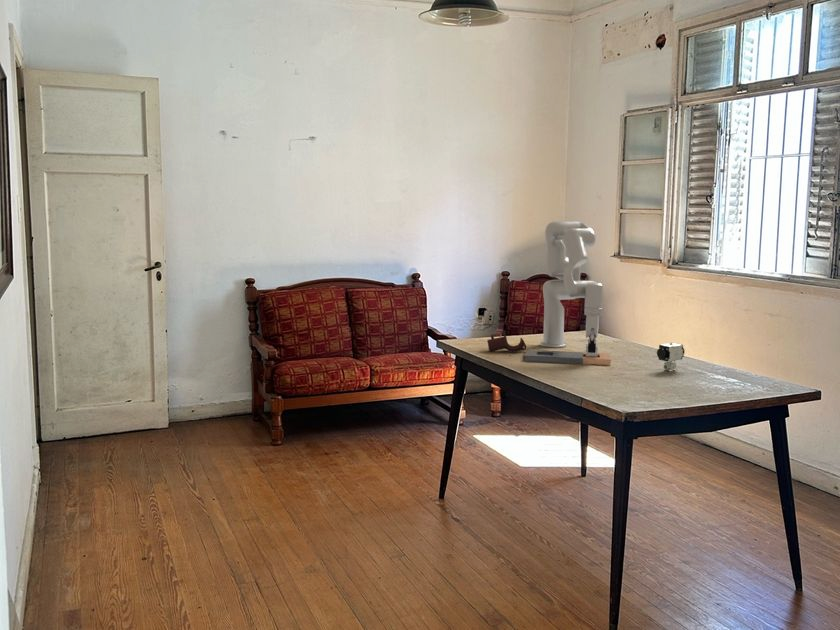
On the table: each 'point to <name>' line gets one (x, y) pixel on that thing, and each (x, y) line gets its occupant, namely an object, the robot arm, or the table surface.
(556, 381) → the table surface
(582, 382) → the table surface
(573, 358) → the grey copper flat plate
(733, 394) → the table surface
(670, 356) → the pneumatic valve
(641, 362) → the table surface
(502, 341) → the bracket
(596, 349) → the grey rectangular block
